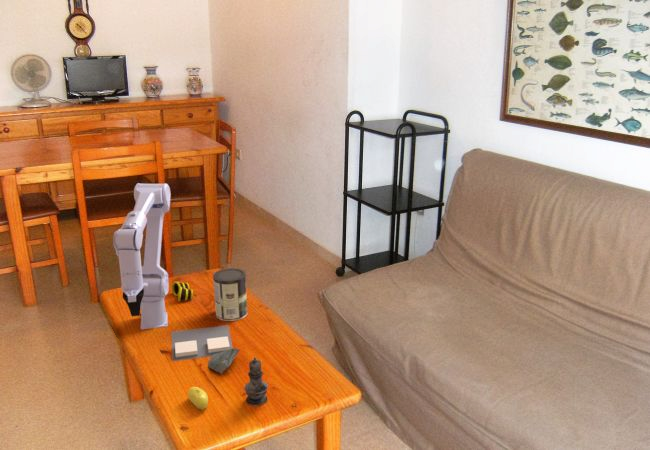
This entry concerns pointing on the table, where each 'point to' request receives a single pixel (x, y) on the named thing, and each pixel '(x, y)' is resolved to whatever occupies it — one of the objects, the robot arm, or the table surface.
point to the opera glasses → (182, 291)
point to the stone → (222, 360)
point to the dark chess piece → (256, 385)
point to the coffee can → (230, 294)
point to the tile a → (186, 349)
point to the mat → (199, 339)
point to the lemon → (198, 397)
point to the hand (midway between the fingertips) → (135, 315)
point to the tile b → (218, 345)
